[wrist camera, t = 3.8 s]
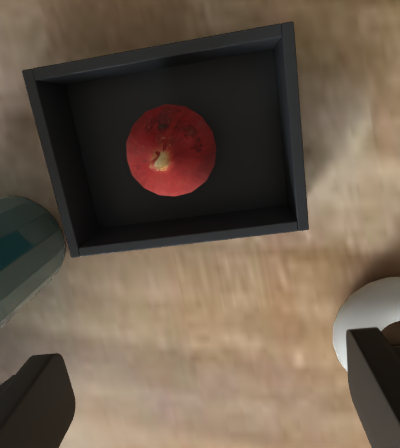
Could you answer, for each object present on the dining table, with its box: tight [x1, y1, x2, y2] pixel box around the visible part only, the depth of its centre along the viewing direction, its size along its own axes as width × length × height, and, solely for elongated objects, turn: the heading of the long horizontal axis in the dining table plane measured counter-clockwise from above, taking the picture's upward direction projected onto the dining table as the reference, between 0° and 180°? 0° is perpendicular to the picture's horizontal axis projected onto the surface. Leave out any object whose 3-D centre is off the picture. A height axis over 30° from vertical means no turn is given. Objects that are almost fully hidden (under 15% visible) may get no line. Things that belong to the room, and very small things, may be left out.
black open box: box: [22, 22, 309, 258], centre depth 26 cm, size 16×12×5 cm
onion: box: [126, 104, 216, 196], centre depth 24 cm, size 6×6×8 cm
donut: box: [333, 277, 400, 372], centre depth 30 cm, size 10×3×10 cm
